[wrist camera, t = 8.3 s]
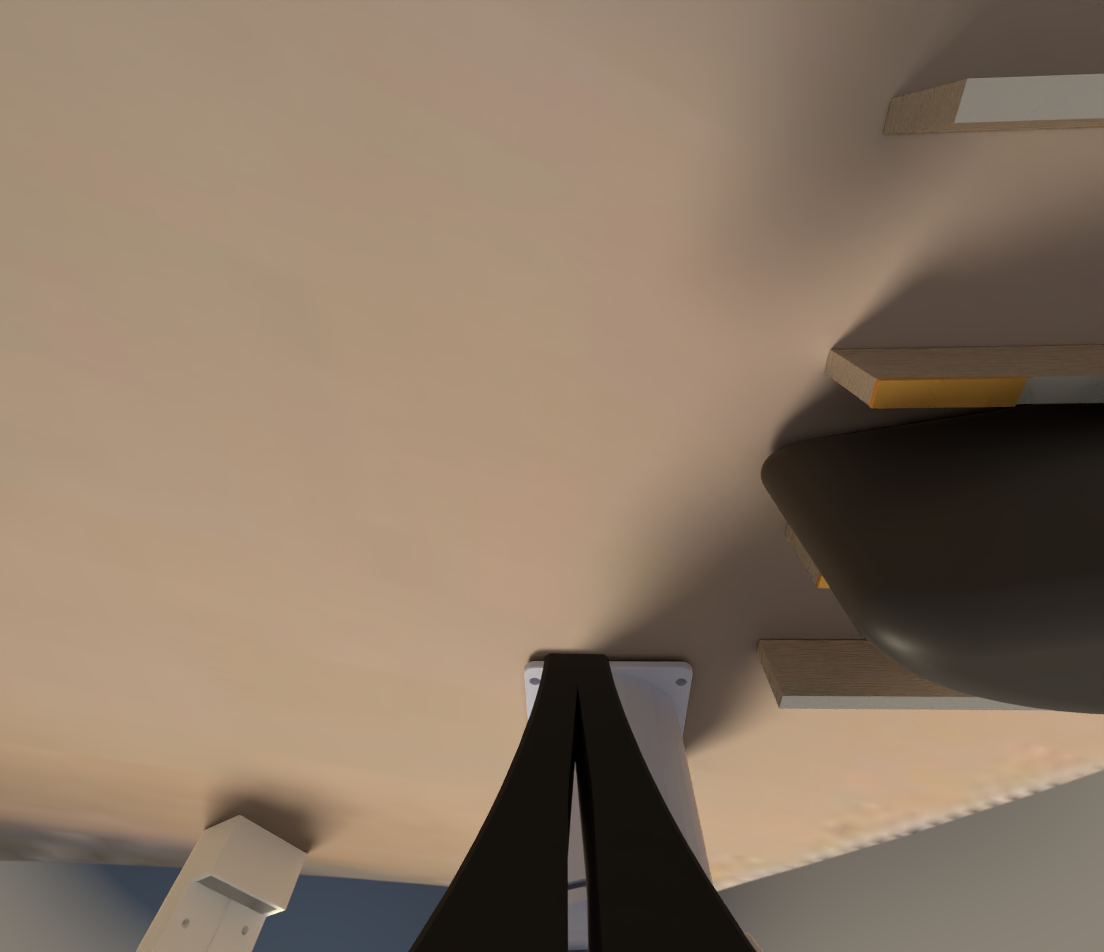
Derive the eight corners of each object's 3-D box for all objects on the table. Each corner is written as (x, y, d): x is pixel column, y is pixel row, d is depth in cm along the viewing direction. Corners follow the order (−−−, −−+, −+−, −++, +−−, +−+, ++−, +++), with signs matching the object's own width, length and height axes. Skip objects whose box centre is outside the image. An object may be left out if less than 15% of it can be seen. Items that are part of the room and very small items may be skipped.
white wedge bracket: (302, 935, 36) (177, 1084, 27) (242, 800, 37) (104, 905, 28) (339, 923, 35) (220, 1075, 26) (276, 785, 36) (143, 890, 27)
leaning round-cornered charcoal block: (750, 536, 21) (866, 761, 13) (749, 437, 19) (888, 631, 11) (1197, 475, 19) (1667, 693, 11) (1254, 356, 17) (1896, 518, 9)
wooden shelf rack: (1085, 653, 24) (1174, 733, 20) (756, 652, 24) (788, 730, 21) (1488, 77, 13) (1814, 40, 10) (891, 98, 14) (1001, 69, 10)
